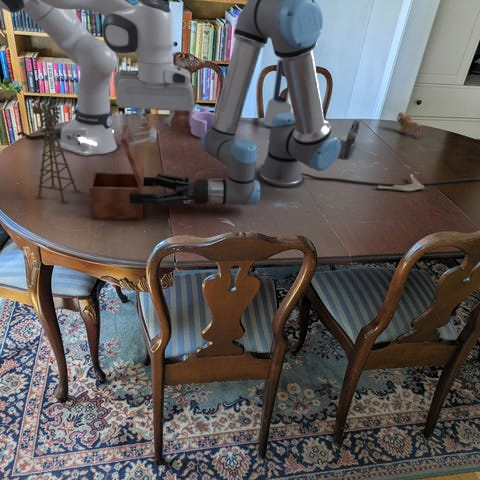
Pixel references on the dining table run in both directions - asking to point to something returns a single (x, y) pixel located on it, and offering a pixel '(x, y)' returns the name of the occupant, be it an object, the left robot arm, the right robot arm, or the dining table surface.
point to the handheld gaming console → (351, 139)
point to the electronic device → (277, 99)
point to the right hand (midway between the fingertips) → (131, 189)
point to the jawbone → (405, 186)
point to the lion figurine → (408, 124)
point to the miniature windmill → (52, 147)
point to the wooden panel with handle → (133, 153)
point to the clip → (200, 121)
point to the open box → (114, 196)
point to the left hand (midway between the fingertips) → (155, 124)
